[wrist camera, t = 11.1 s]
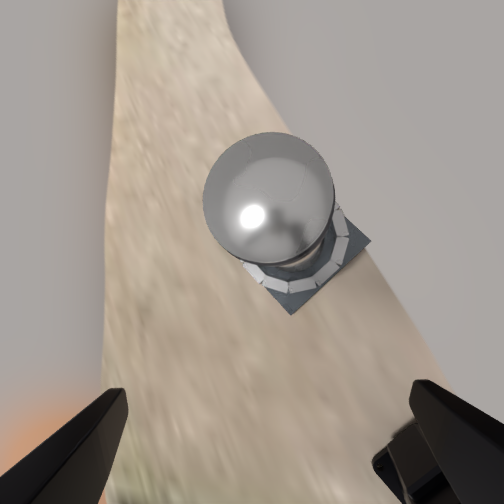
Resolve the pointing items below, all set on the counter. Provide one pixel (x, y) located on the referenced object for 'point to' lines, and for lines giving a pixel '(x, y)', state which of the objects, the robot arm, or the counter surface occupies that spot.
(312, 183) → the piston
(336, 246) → the sleeve
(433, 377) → the counter surface
